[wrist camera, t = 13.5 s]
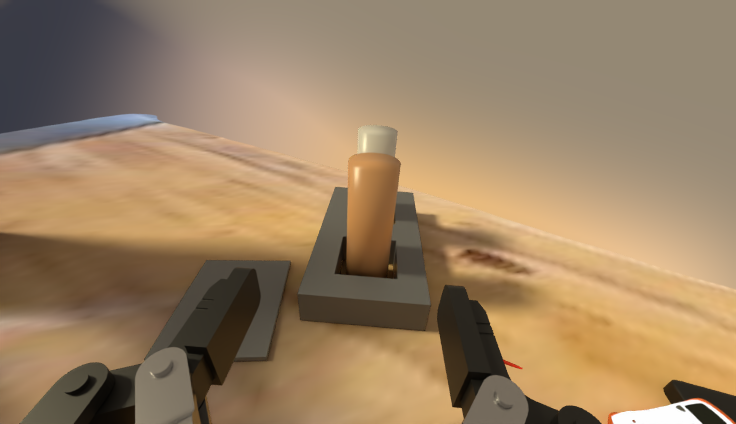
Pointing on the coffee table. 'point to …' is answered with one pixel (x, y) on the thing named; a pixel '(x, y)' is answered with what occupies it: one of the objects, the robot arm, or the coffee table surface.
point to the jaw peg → (370, 213)
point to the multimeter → (681, 407)
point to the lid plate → (265, 319)
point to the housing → (359, 293)
